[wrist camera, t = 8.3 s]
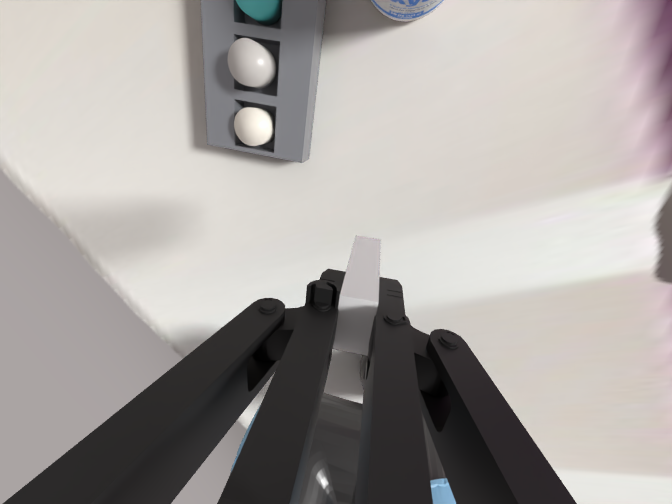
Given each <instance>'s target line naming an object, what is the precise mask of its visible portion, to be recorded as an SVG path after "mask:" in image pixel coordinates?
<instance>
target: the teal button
mask: <svg viewBox="0 0 672 504" xmlns="http://www.w3.org/2000/svg"><path fill="white" fill-rule="evenodd" d="M236 2H237V4H238V5H239V7H240V8H241V9H242V11H244V12H245V13H246V14H247V15H249V16H250V17H252V18H253V19H254V20H256V21H257V22H259V23H260V24H263V25H271V24H273V23H275V22H276V21H277V20H278V19H279V18H280V16H281V14H282V0H236Z"/></svg>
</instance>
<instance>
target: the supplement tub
mask: <svg viewBox="0 0 672 504" xmlns="http://www.w3.org/2000/svg"><path fill="white" fill-rule="evenodd" d="M371 1H372V3H373V4H374V6H375V7H376V8H377V9H378V10H379V11H380V12H381V13H382V14H384V15H385V16H387V17H389V18H390V19H393V20H397V21H413V20H417V19H420V18H422V17H425V16H427V15H428V14H430V13H431V12H433V11H434V10H435V9H436V8H438V7H439V6H440V5H441V4H442V3H443V1H444V0H371Z"/></svg>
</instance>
